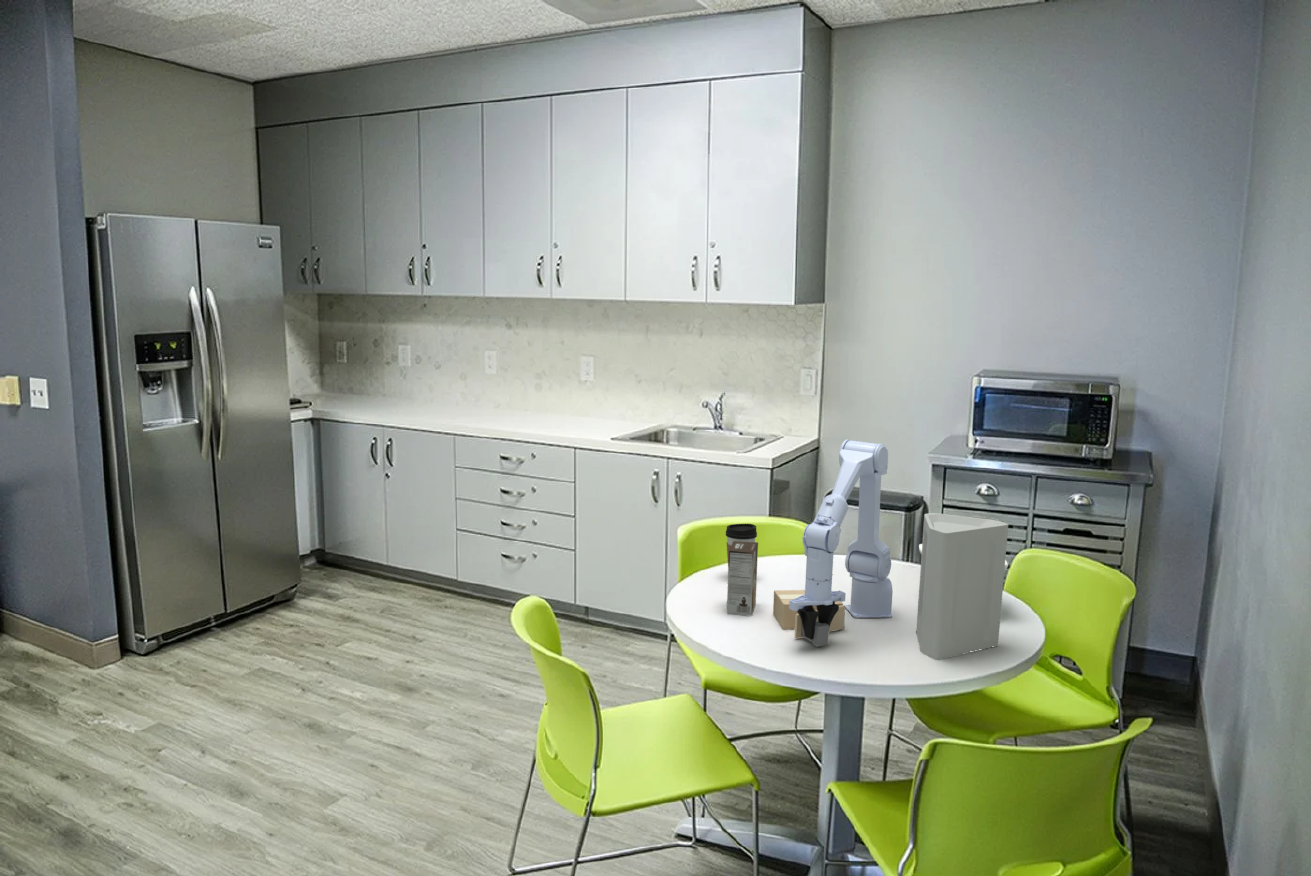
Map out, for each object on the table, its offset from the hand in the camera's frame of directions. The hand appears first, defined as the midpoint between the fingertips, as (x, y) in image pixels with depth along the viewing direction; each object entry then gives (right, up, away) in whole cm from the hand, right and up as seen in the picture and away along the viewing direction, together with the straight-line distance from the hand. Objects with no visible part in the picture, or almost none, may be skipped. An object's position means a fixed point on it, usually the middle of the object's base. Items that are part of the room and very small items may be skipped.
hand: (815, 636), depth 206 cm
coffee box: (-14, +2, +22) cm, 27 cm away
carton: (0, 0, +15) cm, 15 cm away
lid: (+4, -1, +3) cm, 5 cm away
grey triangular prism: (+30, -2, +4) cm, 30 cm away
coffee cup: (-13, +5, +45) cm, 47 cm away
